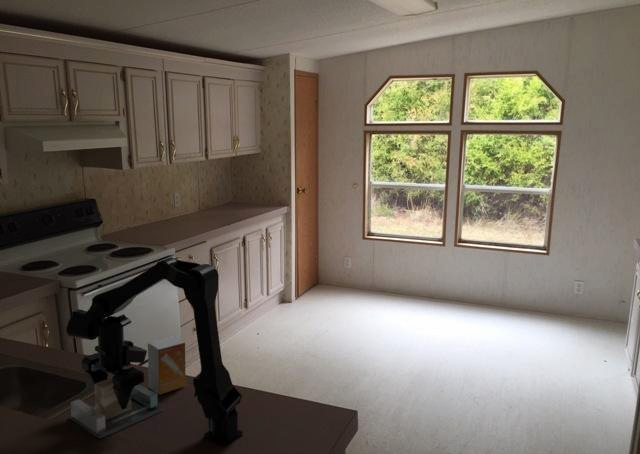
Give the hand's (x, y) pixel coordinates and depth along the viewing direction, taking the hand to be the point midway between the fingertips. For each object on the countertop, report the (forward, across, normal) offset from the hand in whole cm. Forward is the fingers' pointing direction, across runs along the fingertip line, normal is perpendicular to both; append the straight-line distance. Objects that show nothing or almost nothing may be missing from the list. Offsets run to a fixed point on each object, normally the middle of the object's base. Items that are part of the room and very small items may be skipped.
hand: (113, 402), depth 124 cm
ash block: (+2, 0, 0) cm, 2 cm away
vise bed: (+4, 0, 0) cm, 4 cm away
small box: (+4, +3, -18) cm, 18 cm away
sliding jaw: (+2, 0, -7) cm, 8 cm away
